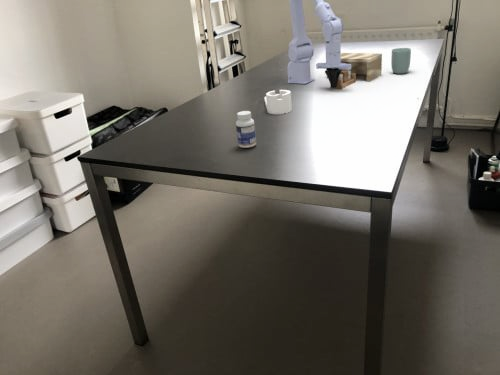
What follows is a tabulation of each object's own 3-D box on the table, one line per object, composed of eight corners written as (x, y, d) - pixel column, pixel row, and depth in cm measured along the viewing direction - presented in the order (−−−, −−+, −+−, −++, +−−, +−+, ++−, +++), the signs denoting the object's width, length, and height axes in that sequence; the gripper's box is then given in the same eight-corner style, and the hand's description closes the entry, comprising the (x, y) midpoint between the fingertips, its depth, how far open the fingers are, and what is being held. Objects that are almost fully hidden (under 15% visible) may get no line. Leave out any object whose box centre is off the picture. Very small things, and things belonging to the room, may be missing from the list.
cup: (410, 74, 188) (412, 50, 184) (391, 75, 190) (392, 51, 186) (408, 70, 195) (409, 47, 191) (390, 71, 197) (391, 48, 193)
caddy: (330, 88, 181) (330, 74, 178) (345, 81, 189) (345, 68, 186) (341, 89, 178) (341, 74, 175) (355, 82, 186) (355, 68, 183)
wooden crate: (326, 79, 196) (326, 58, 192) (340, 73, 204) (339, 52, 200) (369, 81, 184) (369, 59, 180) (381, 75, 192) (381, 53, 188)
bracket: (293, 113, 155) (292, 94, 153) (268, 115, 155) (267, 97, 153) (286, 99, 174) (285, 82, 171) (264, 101, 173) (262, 84, 171)
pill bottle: (237, 142, 133) (234, 111, 129) (255, 140, 133) (252, 109, 129) (238, 149, 128) (235, 116, 124) (257, 146, 128) (254, 114, 124)
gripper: (311, 54, 174) (313, 88, 179) (345, 54, 165) (345, 90, 171) (320, 50, 178) (321, 84, 184) (353, 51, 170) (353, 86, 176)
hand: (333, 87), depth 178 cm, fingers closed, pressing on caddy
